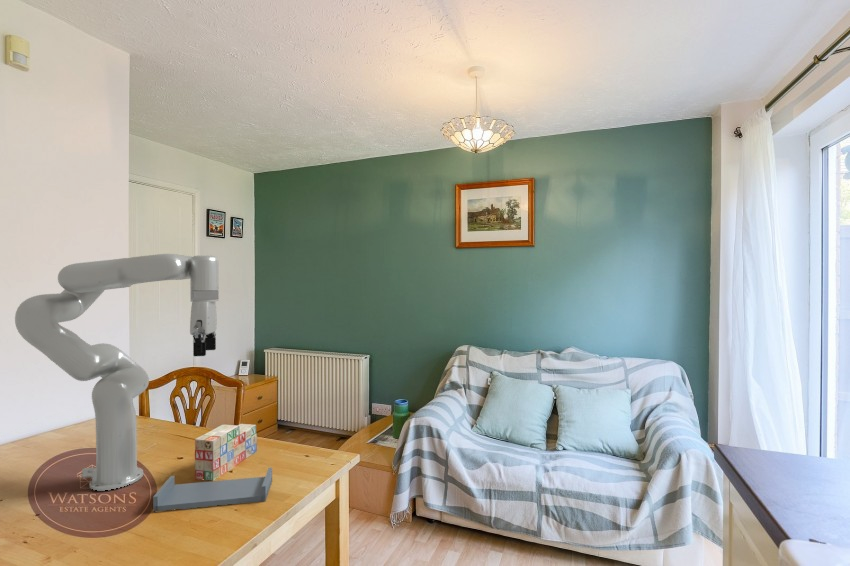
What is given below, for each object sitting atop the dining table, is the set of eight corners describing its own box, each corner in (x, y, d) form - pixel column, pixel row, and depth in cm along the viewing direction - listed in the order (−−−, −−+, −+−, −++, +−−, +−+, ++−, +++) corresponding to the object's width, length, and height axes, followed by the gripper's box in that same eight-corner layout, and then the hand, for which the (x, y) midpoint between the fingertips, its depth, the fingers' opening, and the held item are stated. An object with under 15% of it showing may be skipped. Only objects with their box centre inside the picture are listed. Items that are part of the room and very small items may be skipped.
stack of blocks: (240, 450, 143) (240, 414, 143) (257, 451, 142) (257, 415, 141) (194, 479, 122) (194, 438, 122) (213, 482, 121) (213, 440, 120)
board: (153, 512, 105) (153, 496, 105) (170, 490, 116) (170, 476, 116) (265, 501, 110) (265, 486, 110) (272, 481, 121) (272, 467, 121)
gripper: (200, 295, 133) (200, 348, 133) (180, 298, 116) (180, 359, 116) (225, 295, 134) (226, 347, 134) (209, 297, 117) (209, 358, 117)
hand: (205, 352), depth 125 cm, fingers open, 9 cm apart
